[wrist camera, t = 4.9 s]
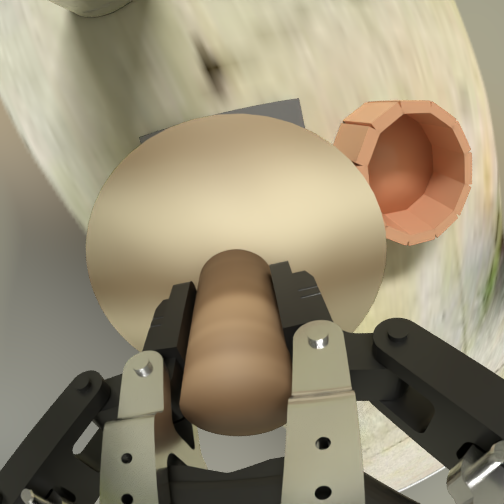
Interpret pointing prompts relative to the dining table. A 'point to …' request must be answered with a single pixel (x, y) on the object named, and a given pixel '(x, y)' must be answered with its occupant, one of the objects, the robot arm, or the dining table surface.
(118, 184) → the lid
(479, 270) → the dining table surface
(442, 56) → the dining table surface
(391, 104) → the bowl
